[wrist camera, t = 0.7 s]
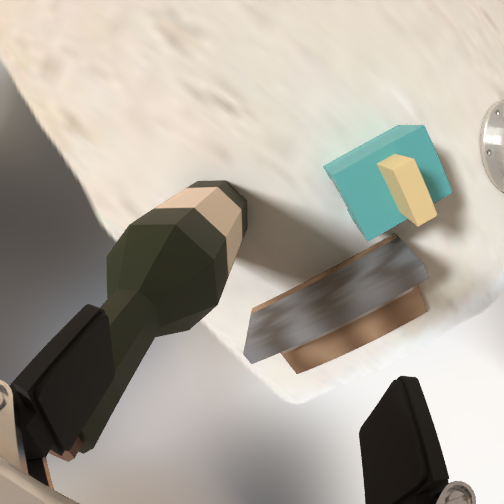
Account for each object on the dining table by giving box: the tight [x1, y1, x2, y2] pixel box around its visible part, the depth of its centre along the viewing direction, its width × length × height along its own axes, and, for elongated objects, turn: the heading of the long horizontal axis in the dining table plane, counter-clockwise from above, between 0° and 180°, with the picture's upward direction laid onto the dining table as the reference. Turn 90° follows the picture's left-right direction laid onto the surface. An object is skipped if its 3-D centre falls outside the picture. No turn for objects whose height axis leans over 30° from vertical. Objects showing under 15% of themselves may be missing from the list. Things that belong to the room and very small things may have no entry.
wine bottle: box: [49, 180, 247, 461], centre depth 22 cm, size 8×8×30 cm
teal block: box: [323, 125, 452, 241], centre depth 26 cm, size 10×7×12 cm
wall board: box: [243, 234, 429, 374], centre depth 34 cm, size 20×12×9 cm, turn 123°
